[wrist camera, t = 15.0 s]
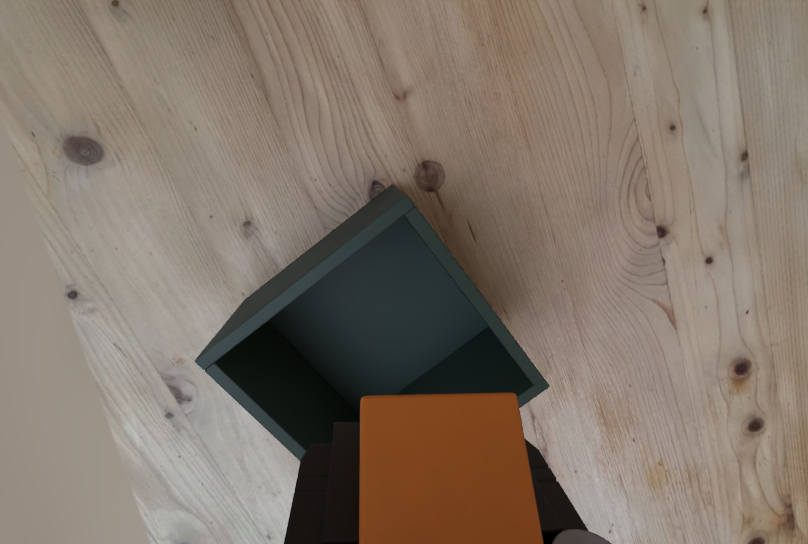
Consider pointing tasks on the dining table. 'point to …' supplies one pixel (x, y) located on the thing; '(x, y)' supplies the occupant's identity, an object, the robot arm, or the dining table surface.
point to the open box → (364, 329)
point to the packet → (445, 471)
